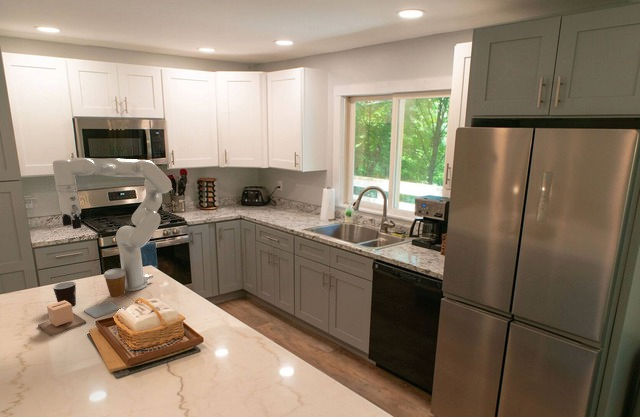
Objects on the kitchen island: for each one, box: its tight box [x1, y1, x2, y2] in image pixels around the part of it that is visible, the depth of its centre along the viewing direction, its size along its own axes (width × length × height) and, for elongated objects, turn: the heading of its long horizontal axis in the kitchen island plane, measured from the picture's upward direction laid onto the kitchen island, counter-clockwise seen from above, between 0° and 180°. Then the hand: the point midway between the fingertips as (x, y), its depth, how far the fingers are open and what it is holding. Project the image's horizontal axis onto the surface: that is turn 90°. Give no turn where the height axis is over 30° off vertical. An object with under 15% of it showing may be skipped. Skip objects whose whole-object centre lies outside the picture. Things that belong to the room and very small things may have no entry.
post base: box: [37, 312, 87, 337], centre depth 161 cm, size 13×13×8 cm
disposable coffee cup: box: [103, 268, 126, 298], centre depth 189 cm, size 10×10×12 cm
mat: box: [83, 301, 122, 319], centre depth 174 cm, size 11×11×1 cm
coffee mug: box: [52, 280, 77, 308], centre depth 180 cm, size 12×9×10 cm
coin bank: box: [46, 300, 74, 326], centre depth 161 cm, size 7×7×7 cm
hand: (72, 226), depth 173 cm, fingers open, 9 cm apart
